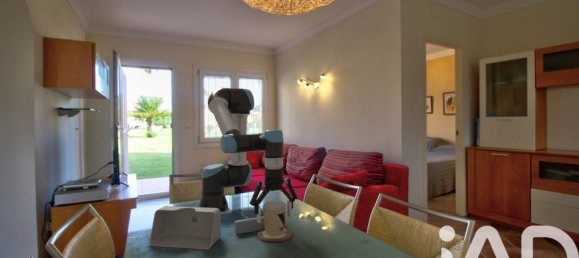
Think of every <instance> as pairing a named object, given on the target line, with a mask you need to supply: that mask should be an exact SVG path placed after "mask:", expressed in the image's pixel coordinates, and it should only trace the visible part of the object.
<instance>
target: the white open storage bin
mask: <svg viewBox="0 0 579 258" xmlns="http://www.w3.org/2000/svg"><path fill="white" fill-rule="evenodd" d="M221 225H222V224H221V211H220V210H219V209H218V208H202V207H199V206H198V207H195V206H176V205H175V206H173V205H172V206H171V205H164V206H162V207H160V208H159V209H157V210H155V212H154V214H153V221H152V225H151V231H150V232H151V233H150V237H149V246H151V247H152V246H153V247H164V248H165V247H167V248H169V247H170V248H179V249H182V248H183V249H194V250H195V249H197V250H198V249H199V250H210V249H211V248H212V247H213V246H214V244H216V243H217V242H218V241H219V239H221V235H222V233H221V231H222V230H221V228H222V226H221Z"/></svg>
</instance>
